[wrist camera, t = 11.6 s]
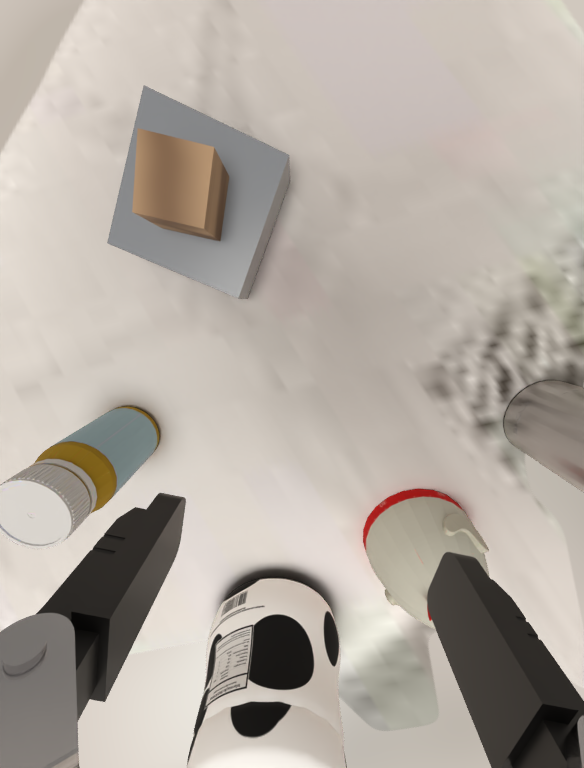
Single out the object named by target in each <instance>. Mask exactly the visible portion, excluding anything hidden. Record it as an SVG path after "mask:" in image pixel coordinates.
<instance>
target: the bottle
mask: <svg viewBox="0 0 584 768" xmlns="http://www.w3.org/2000/svg"><path fill="white" fill-rule="evenodd" d="M158 443H159V431H158V428H157V425H156V424H155V422H154V421H153V419H152V418H151V417H150V416H149V415H148V414H146V413H145V412H144V411H142V410H139V409H137V408H134V407H128V406H125V407H118V408H115V409H113V410H111V411H109V412H107V413H106V414H104V415H102V416H101V417H99V418H97V419H96V420H94V421H93V422H91V423H89V424H88V425H86V426H84V427H83V428H81V429H79V430H78V431H76V432H74V433H73V434H71V435H69V436H68V437H66V438H65V439H63V440H61V441H60V442H58V443H56V444H55V445H53V446H51V447H50V448H49V449H47V450H45V451H44V452H43V453H42V454H41V455H40V456H39V457H38V459H37V460H36V461H35V463H34V464H33V465H31V466H30V467H28V468H26V469H25V470H23V471H21V472H19V473H18V474H16V475H15V476H13V477H11V478H10V479H8V480H7V481H5V482H4V483H2V484H1V485H0V533H1V534H2V535H4V536H5V537H6V538H7V539H9V540H10V541H12V542H14V543H16V544H18V545H21V546H23V547H27V548H32V549H47V548H51V547H54V546H56V545H58V544H60V543H62V542H63V541H65V540H66V539H67V538H68V537H69V536H70V535H71V534H72V533H73V532H74V531H75V530H76V528H77V527H78V526H79V525H80V524H81V523H82V522H83V521H84V520H85V519H86V518H87V517H88V516H89V514H90V513H92V512H94V511H96V510H98V509H100V508H102V507H103V506H104V505H105V504H106V503H107V502H108V501H109V500H110V499H111V498H112V497H113V496H114V495H115V494H116V493H117V492H118V491H119V489H120V488H121V487H122V486H123V485H124V484H125V483H126V482H127V481H128V480H129V479H130V477H131V476H132V475H133V474H134V473H135V472H136V471H137V470H138V469H139V468H140V467H141V465H142V464H143V463H144V462H145V461H146V460H147V459H148V458H149V457H150V456H151V455H152V453H153V452H154V451H155V450H156V448H157V446H158Z"/></svg>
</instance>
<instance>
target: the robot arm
mask: <svg viewBox="0 0 584 768" xmlns="http://www.w3.org/2000/svg"><path fill="white" fill-rule="evenodd" d="M504 429H505V434H506V436H507V438H508V440H509V441H510V442H511V443H512V444H513V445H514V446H515V447H517V448H518V449H520V450H521V451H523V452H524V453H526V454H527V455H529V456H530V457H532V458H533V459H535V460H536V461H538V462H539V463H540V464H542V465H543V466H545V467H546V468H548V469H549V470H551V471H552V472H554V473H555V474H557V475H558V476H560V477H561V478H563V479H564V480H566V481H567V482H569V483H571V484H572V485H573V486H575V487H576V488H578V489H579V490H581V491H582V492H584V388H582V387H579V386H576V385H573V384H569V383H566V382H562V381H557V380H547V381H542V382H538V383H536V384H533V385H531V386H529V387H527V388H526V389H524V390H523V391H521V392H520V393H519V394H518V395H517V396H516V397H515V398H514V400H513V401H512V402H511V403H510V405H509V407H508V409H507V411H506V415H505V418H504ZM185 503H186V499H185V498H184V497H179V496H174V495H169V494H164V493H159V494H158V495H157V496H156V498H155V499H154V500H153V502H152V503H151V504H150V506H149V507H148V508H147V510H146V509H141V508H136V507H135V508H134V509H132V510H130V511H129V512H127V513H126V514H124V515H122V516H121V517H119V518H118V519H117V520H116V521H115V522H114V523H113V525H112V526H111V527H110V528H109V529H108V530H107V532H106V533H105V535H104V537H102V538H101V539H100V540H99V541H98V542H97V544H96V545H95V546H94V548H93V550H92V551H90V552H89V553H88V554H87V555H86V557H85V558H84V559H83V560H82V561H81V562H80V564H79V565H78V566H77V567H76V568H75V570H74V571H73V572H72V573H71V574H70V576H69V577H68V578H67V579H66V580H65V581H64V583H63V584H62V585H61V586H60V587H59V589H58V590H57V591H56V592H55V593H54V595H53V596H52V597H51V598H50V599H49V600H48V602H47V603H46V604H45V605H44V606H43V607H42V608H41V610H40V611H39V612H38V613H36V614H35V615H32V616H29V617H26V618H24V619H22V620H19V621H17V622H15V623H14V624H12V625H10V626H9V627H7V628H5V629H4V630H2V631H1V632H0V768H79V756H78V724H77V722H78V720H79V718H80V716H81V714H82V712H83V710H84V709H85V707H86V705H87V703H88V701H89V699H92V700H97V701H103V702H105V701H106V699H107V696H108V694H109V692H110V690H111V688H112V686H113V684H114V682H115V680H116V678H117V676H118V674H119V672H120V670H121V668H122V666H123V664H124V662H125V660H126V658H127V656H128V654H129V652H130V650H131V648H132V646H133V643H134V641H135V639H136V637H137V635H138V633H139V631H140V629H141V627H142V625H143V623H144V621H145V619H146V617H147V615H148V613H149V611H150V609H151V607H152V605H153V603H154V601H155V599H156V597H157V595H158V593H159V590H160V588H161V586H162V584H163V582H164V580H165V578H166V576H167V574H168V572H169V570H170V568H171V566H172V564H173V562H174V560H175V557H176V554H177V551H178V548H179V544H180V540H181V533H182V526H183V518H184V511H185ZM427 604H428V610H429V613H430V616H431V619H432V621H433V623H434V626H435V628H436V631H437V633H438V636H439V638H440V641H441V643H442V646H443V648H444V651H445V653H446V656H447V658H448V661H449V663H450V666H451V668H452V671H453V673H454V675H455V678H456V680H457V683H458V685H459V688H460V690H461V692H462V695H463V698H464V700H465V703H466V705H467V708H468V710H469V713H470V715H471V717H472V720H473V722H474V725H475V727H476V730H477V732H478V735H479V737H480V740H481V742H482V745H483V747H484V750H485V752H486V755H487V757H488V760H489V762H490V764H491V767H492V768H584V701H583V700H582V698H581V697H580V695H579V694H578V692H577V691H576V689H575V688H574V687H573V685H572V684H571V682H570V681H569V679H568V678H567V676H566V675H565V674H564V672H563V671H562V669H561V668H560V666H559V665H558V664H557V662H556V661H555V659H554V658H553V656H552V655H551V654H550V652H549V651H548V649H547V648H546V646H545V645H544V644H543V642H542V641H541V640H539V639H538V635H537V634H536V632H535V631H534V629H533V628H532V626H531V625H530V624H529V622H526V618H525V616H524V615H523V614H522V612H521V611H520V609H519V608H518V606H517V605H516V604H515V602H514V601H513V599H512V598H511V597H510V596H509V595H508V594H507V593H506V592H505V591H504V590H503V589H502V588H501V587H500V586H499V585H498V584H497V583H496V582H495V581H494V580H491V579H490V578H489V576H488V575H487V573H486V572H485V570H484V569H483V567H482V566H481V564H480V563H479V561H478V560H477V559H476V558H474V557H472V556H467V555H462V554H457V553H452V552H446V553H445V554H444V555H443V557H442V559H441V561H440V563H439V566H438V568H437V570H436V573H435V575H434V577H433V580H432V582H431V584H430V586H429V589H428V594H427Z"/></svg>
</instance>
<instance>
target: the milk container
mask: <svg viewBox="0 0 584 768" xmlns="http://www.w3.org/2000/svg"><path fill="white" fill-rule="evenodd" d="M340 657H341V654H340V641H339V634H338V630H337V626H336V623H335V619H334V617H333V614H332V611H331V609H330V607H329V606H328V604H327V603H326V602H325V600H324V599H323V598H322V596H321V595H320V594H319V593H318V592H317V591H315V590H314V589H312V588H311V587H309V586H308V585H306V584H304V583H301V582H299V581H295V580H292V579H288V578H280V577H269V578H261V579H257V580H253V581H250V582H247V583H245V584H243V585H241V586H240V587H238V588H237V589H236V590H234V591H233V592H232V593H230V594H229V596H228V597H227V598H226V599H225V600H224V602H223V603H222V605H221V606H220V608H219V610H218V612H217V614H216V617H215V619H214V621H213V624H212V627H211V630H210V634H209V638H208V644H207V652H206V682H205V688H204V692H203V697H202V701H201V705H200V708H199V712H198V716H197V720H196V724H195V728H194V733H193V741H192V744H191V747H190V752H189V756H188V763H187V768H347V766H346V760H345V754H344V734H343V727H342V721H341V713H340V705H339V696H338V678H339V669H340Z"/></svg>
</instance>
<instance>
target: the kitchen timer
mask: <svg viewBox="0 0 584 768" xmlns="http://www.w3.org/2000/svg"><path fill="white" fill-rule="evenodd" d="M363 543H364V546H365V550H366V553H367V556H368V558H369V561H370V564H371V566H372V568H373V570H374V572H375V574H376V575H377V577H378V578H379V580H380V581H381V583H382V584H383V585H384V587H385V588H386V590H385V595H386V598H387V600H388V601H389V603H390V604H391V605H399V606H401V607H402V608H403V609H404V610H405V611H406V612H407V613H409V614H410V615H411V616H413V617H414V618H415V619H417V620H419V621H420V622H422V623H423V624H425V625H427V626H429V627H431V628H433V629H436V628H435V626H434V623H433V621H432V619H431V616H430V613H429V610H428V604H427V594H428V589H429V586H430V584H431V582H432V580H433V577H434V575H435V573H436V570H437V568H438V566H439V563H440V561H441V559H442V557H443V555H444V554H445V553H446V552H452V553H457V554H462V555H467V556H472V557H474V558H476V559H477V560H478V561H479V563H480V564H481V566H482V567H483V569H484V570H485V572H486V573H487V575H488V576H489V572H488V567H487V563H486V559H485V555H484V552H488V551H489V549H488V547H487V545H486V544H485V542H484V540H483V539H482V537H481V536H480V534H479V533H478V531H477V530H476V529H475V527H474V526H473V524H472V523H471V521H470V520H469V518H468V517H467V515H466V514H465V512H464V511H463V509H462V508H461V507H460V506H459V504H458V503H457V502H455V501H454V500H453V499H451V498H450V497H449V496H447V495H445V494H443V493H440V492H437V491H434V490H426V489H413V490H407V491H402V492H400V493H397V494H395V495H393V496H390V497H388V498H387V499H385V500H384V501H383V502H381V503H380V504H379V505H378V506H376V507H375V509H374V510H373V511H372V513H371V514H370V515H369V517H368V519H367V521H366V524H365V527H364V530H363Z"/></svg>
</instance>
